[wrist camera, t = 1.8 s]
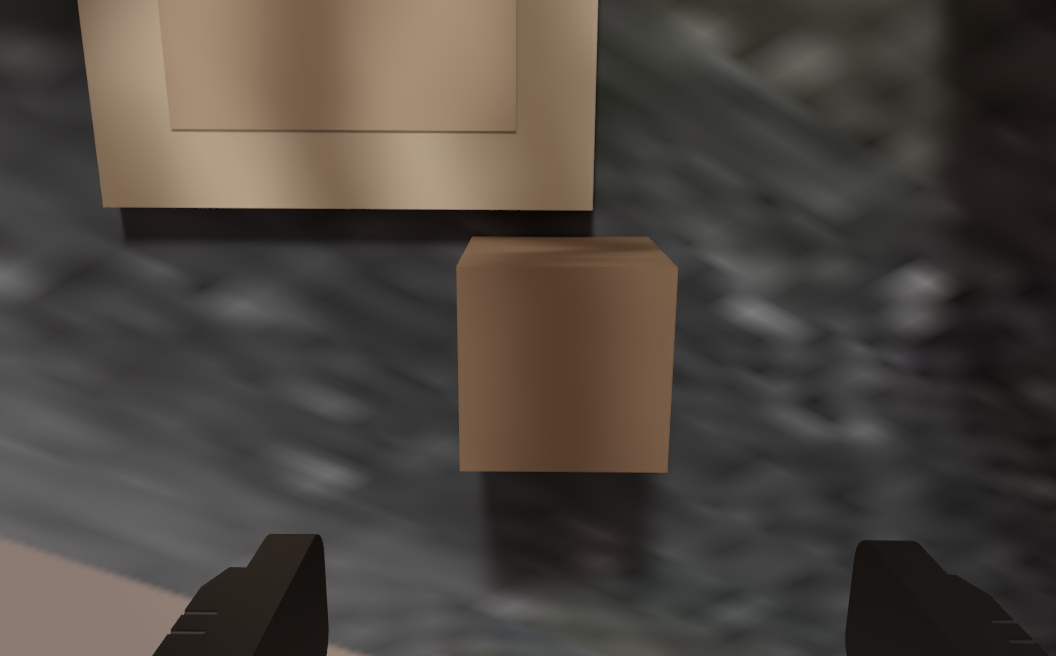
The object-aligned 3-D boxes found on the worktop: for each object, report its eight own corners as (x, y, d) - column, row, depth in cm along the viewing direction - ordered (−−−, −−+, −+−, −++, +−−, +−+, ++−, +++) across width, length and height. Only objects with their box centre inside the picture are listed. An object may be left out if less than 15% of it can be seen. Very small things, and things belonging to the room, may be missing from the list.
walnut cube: (647, 236, 28) (678, 268, 22) (640, 401, 29) (667, 472, 23) (472, 235, 28) (456, 266, 22) (474, 400, 29) (460, 470, 23)
